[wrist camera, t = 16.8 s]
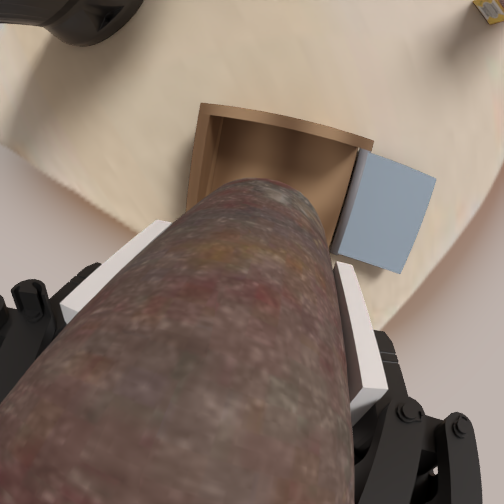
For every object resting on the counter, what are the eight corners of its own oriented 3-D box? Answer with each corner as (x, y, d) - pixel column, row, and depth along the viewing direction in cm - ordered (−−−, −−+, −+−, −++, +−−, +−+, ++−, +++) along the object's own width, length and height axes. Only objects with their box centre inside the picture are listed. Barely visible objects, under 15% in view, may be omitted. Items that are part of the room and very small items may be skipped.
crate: (200, 225, 32) (182, 246, 27) (218, 106, 26) (200, 102, 21) (324, 254, 32) (329, 281, 26) (358, 137, 25) (374, 140, 20)
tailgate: (329, 252, 30) (399, 276, 28) (360, 147, 24) (437, 177, 23) (329, 248, 31) (398, 271, 29) (359, 147, 26) (433, 175, 24)
